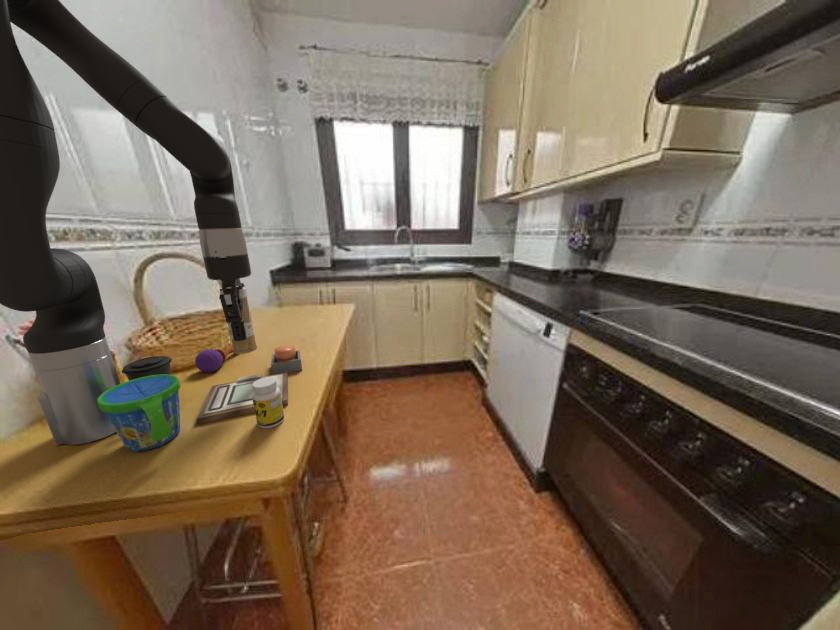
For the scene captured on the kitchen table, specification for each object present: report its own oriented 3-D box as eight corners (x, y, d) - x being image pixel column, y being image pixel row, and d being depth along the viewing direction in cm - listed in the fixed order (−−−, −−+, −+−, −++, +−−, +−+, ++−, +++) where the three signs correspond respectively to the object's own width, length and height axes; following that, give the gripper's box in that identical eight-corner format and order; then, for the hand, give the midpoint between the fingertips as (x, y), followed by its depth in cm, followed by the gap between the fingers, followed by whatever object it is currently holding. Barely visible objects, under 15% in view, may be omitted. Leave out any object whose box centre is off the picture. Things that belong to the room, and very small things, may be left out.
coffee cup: (154, 415, 63) (141, 369, 60) (123, 411, 65) (108, 367, 62) (190, 394, 71) (180, 353, 68) (161, 391, 72) (150, 351, 70)
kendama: (258, 335, 98) (212, 355, 79) (256, 353, 99) (211, 377, 80) (239, 331, 98) (189, 351, 79) (238, 349, 100) (189, 373, 80)
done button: (276, 367, 80) (274, 353, 79) (276, 360, 84) (274, 347, 83) (297, 364, 82) (295, 350, 81) (296, 357, 86) (294, 344, 85)
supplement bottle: (251, 425, 59) (243, 384, 57) (273, 412, 63) (266, 374, 61) (268, 432, 57) (261, 390, 55) (290, 418, 61) (283, 378, 59)
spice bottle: (260, 350, 66) (248, 287, 63) (236, 356, 63) (222, 291, 60) (253, 345, 69) (242, 285, 66) (230, 351, 66) (217, 288, 63)
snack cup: (201, 443, 54) (187, 391, 51) (118, 478, 47) (97, 419, 44) (182, 410, 65) (170, 364, 62) (112, 434, 57) (95, 384, 55)
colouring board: (197, 424, 60) (195, 414, 59) (213, 390, 72) (211, 382, 72) (288, 404, 66) (286, 396, 65) (287, 376, 78) (286, 369, 77)
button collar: (272, 375, 79) (270, 364, 78) (273, 364, 85) (272, 354, 84) (302, 370, 81) (300, 359, 81) (301, 360, 88) (299, 350, 87)
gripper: (211, 252, 66) (227, 329, 70) (192, 257, 53) (214, 351, 58) (251, 250, 68) (264, 324, 73) (242, 254, 56) (259, 344, 60)
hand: (242, 336), depth 65 cm, fingers closed on spice bottle, 4 cm apart
